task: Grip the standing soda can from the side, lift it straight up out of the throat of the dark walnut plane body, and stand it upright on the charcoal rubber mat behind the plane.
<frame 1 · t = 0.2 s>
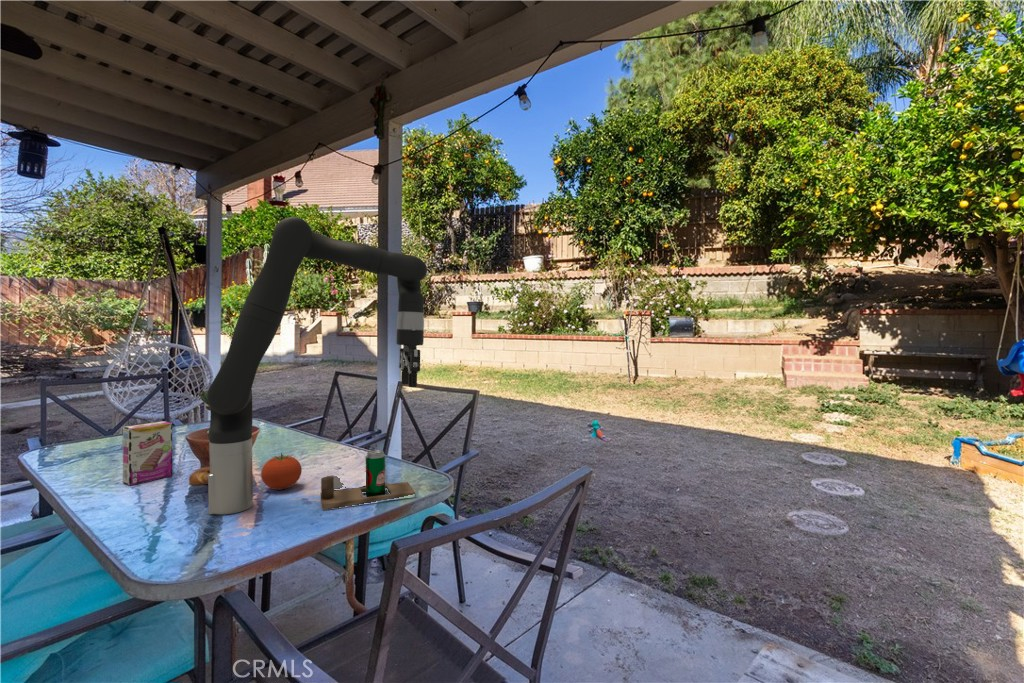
hand: (408, 385, 139), 29 cm above the table, tool pointing down, fingers open, 8 cm apart
candy bar box: (148, 480, 144), on the table
plane body: (367, 498, 130), on the table
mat: (349, 481, 143), on the table
pretzel: (212, 481, 145), on the table
tomato: (281, 489, 137), on the table
soda can: (375, 497, 131), resting in plane body
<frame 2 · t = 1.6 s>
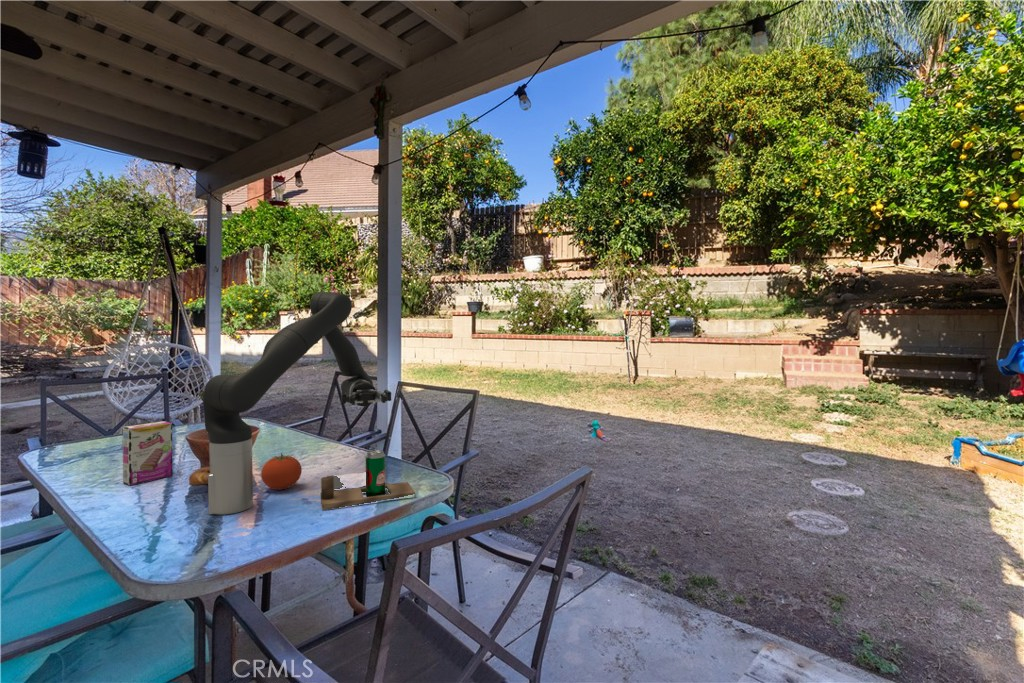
hand: (369, 400, 141), 24 cm above the table, tool horizontal, fingers open, 8 cm apart
nothing on the table moved.
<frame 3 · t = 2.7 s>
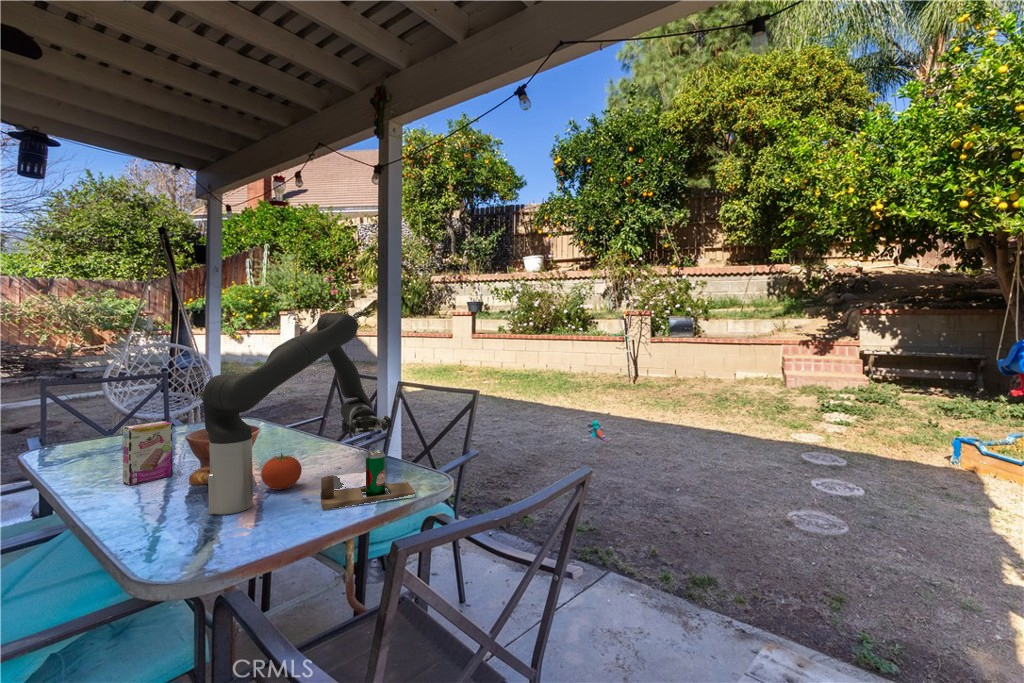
hand: (369, 428, 141), 16 cm above the table, tool horizontal, fingers open, 8 cm apart
nothing on the table moved.
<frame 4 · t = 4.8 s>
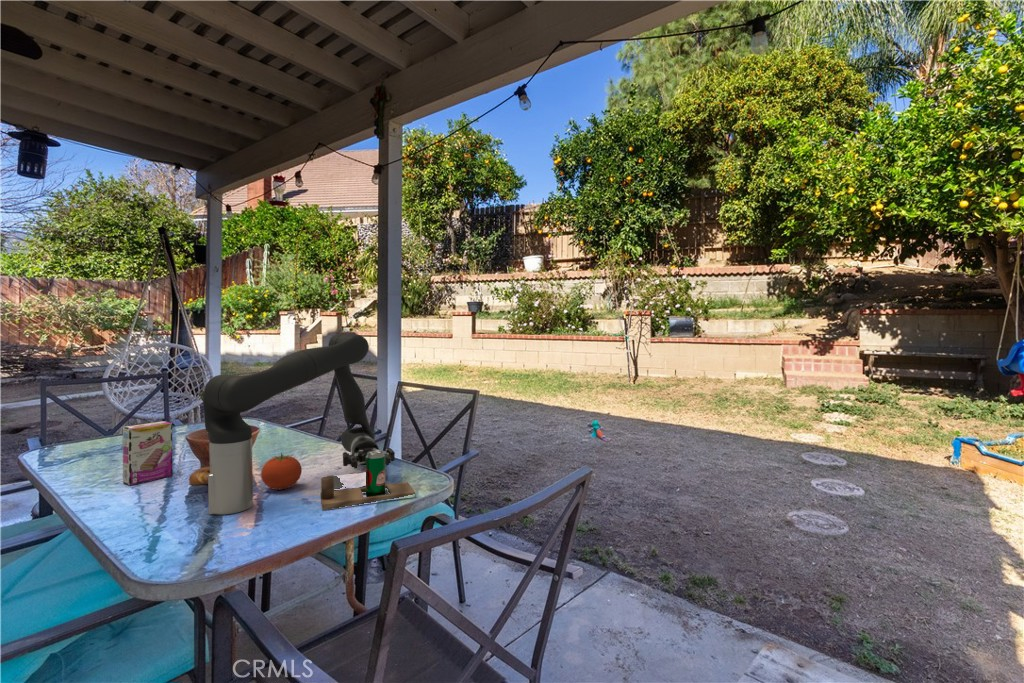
hand: (372, 463, 136), 7 cm above the table, tool horizontal, fingers open, 8 cm apart
nothing on the table moved.
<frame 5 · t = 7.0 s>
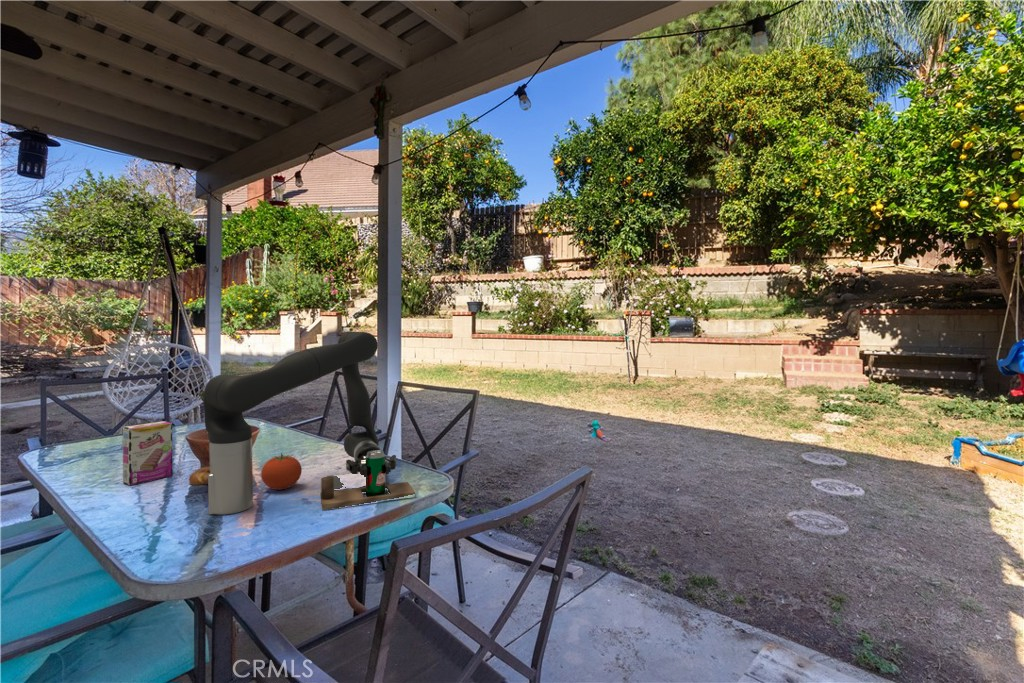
hand: (376, 471, 128), 8 cm above the table, tool horizontal, fingers closed on soda can, 5 cm apart
soda can: (375, 497, 131), resting in plane body, touching gripper
everything else where it was.
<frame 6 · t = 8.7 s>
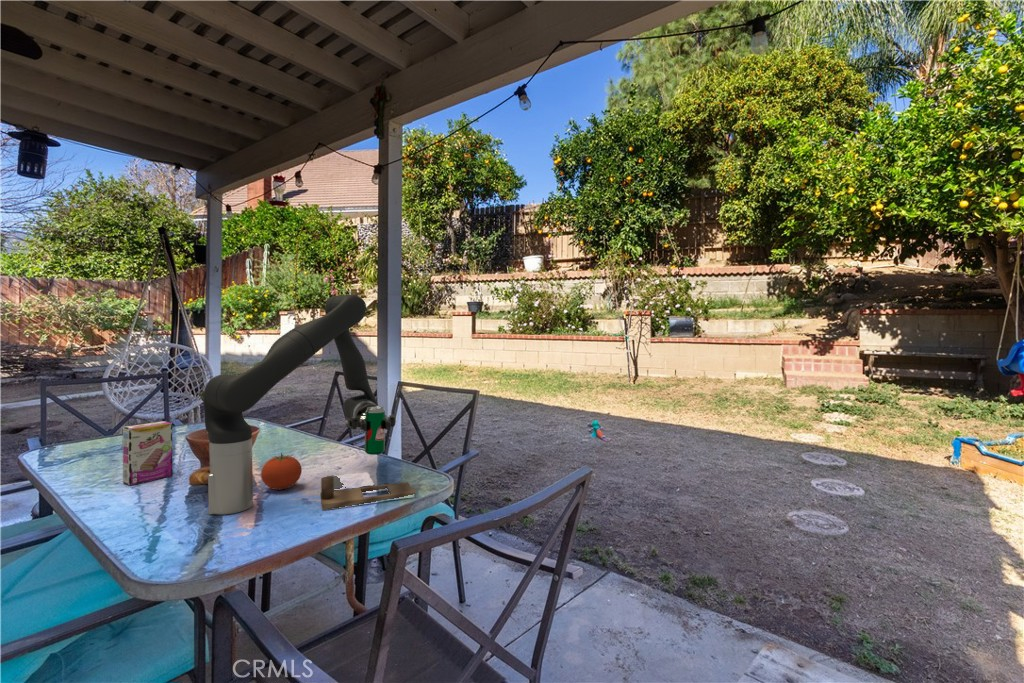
hand: (376, 426, 127), 19 cm above the table, tool horizontal, fingers closed on soda can, 5 cm apart
soda can: (374, 453, 130), point 12 cm above the table, touching gripper
everything else where it was.
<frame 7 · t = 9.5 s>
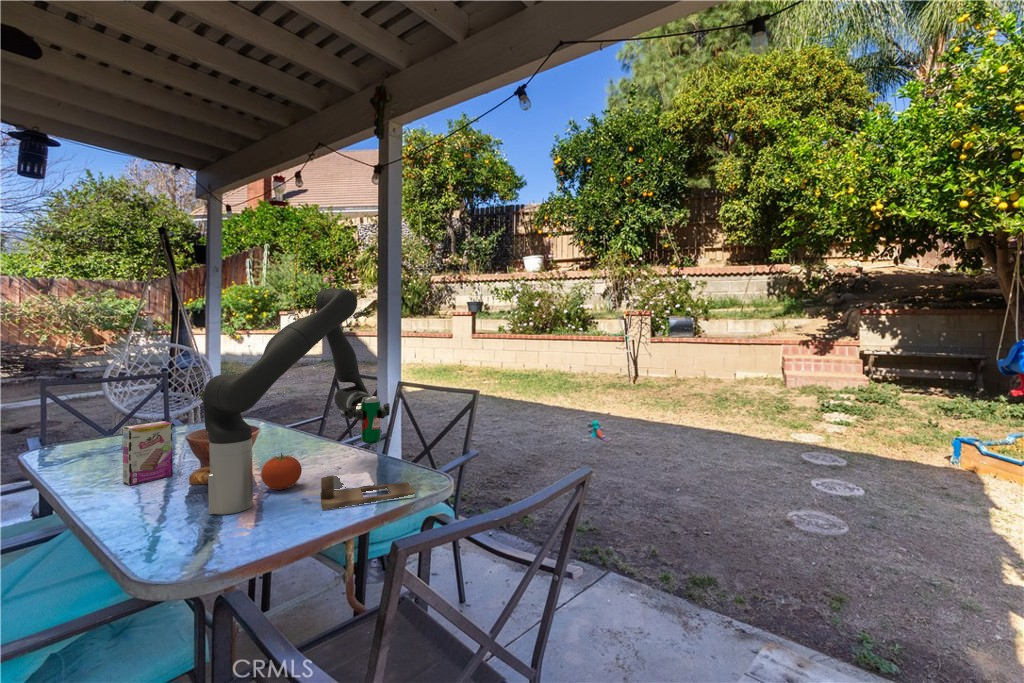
hand: (372, 415, 131), 22 cm above the table, tool horizontal, fingers closed on soda can, 5 cm apart
soda can: (371, 442, 134), point 14 cm above the table, touching gripper
everything else where it was.
when the fingers open (9 cm above the table, at t = 13.2 s): soda can stays where it is, resting on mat.
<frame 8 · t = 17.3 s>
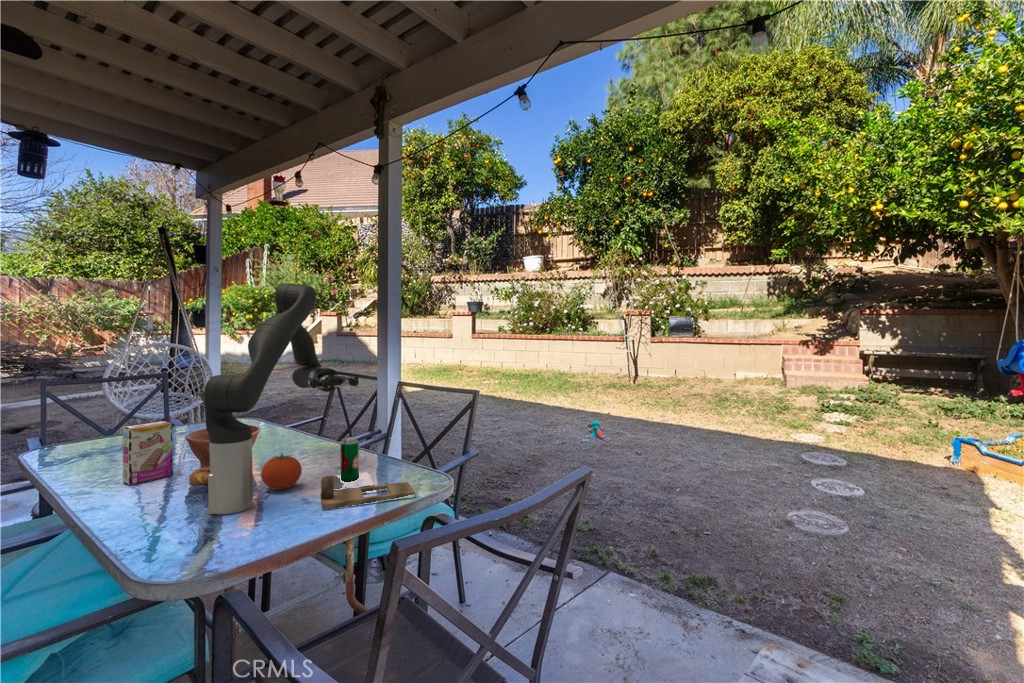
hand: (341, 383, 147), 28 cm above the table, tool horizontal, fingers open, 8 cm apart
soda can: (349, 480, 143), resting on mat
everything else where it was.
at the end: soda can inside the target area (0.1 cm from its centre), resting on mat; soda can tilted 0°; the gripper is holding nothing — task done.
